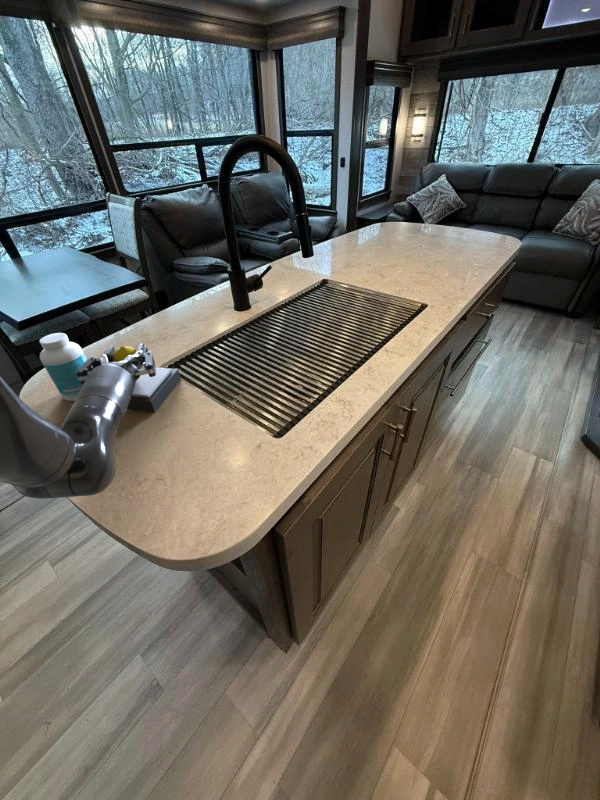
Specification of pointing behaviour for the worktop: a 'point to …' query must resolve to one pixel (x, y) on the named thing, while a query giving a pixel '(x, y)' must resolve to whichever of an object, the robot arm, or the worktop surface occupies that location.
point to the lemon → (123, 353)
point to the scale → (153, 389)
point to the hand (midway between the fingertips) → (128, 349)
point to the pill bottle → (62, 363)
